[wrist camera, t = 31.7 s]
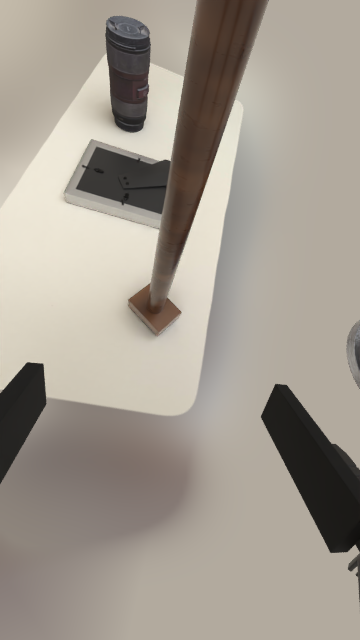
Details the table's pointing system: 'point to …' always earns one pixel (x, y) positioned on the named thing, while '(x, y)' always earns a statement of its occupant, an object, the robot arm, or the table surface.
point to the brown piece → (198, 137)
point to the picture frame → (119, 184)
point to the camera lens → (128, 70)
